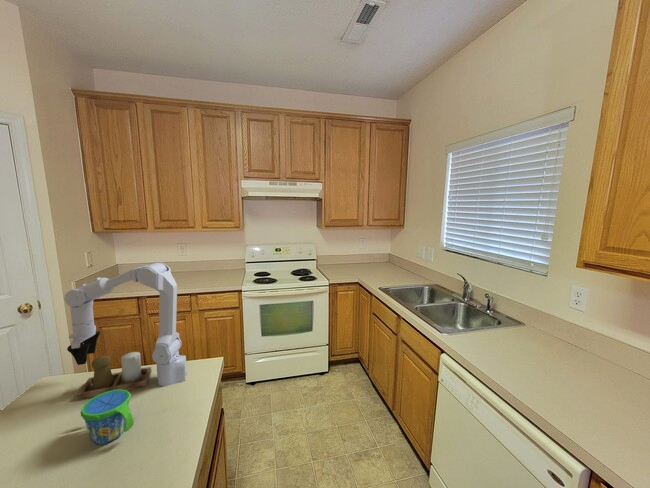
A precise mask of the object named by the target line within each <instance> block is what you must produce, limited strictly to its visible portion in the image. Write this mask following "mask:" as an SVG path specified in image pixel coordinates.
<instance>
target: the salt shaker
mask: <svg viewBox="0 0 650 488" xmlns="http://www.w3.org/2000/svg"><path fill="white" fill-rule="evenodd" d="M141 358H142V357H141V352H139V351H131V352H128V353H125V354H123V355H122V356H121V357H120V362H121V363H120V364H121V372H122V377H123V384H128V383H133V382H138V381H142V372H141V368H142V362H141V361H142V360H141Z"/></svg>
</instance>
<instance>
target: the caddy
mask: <svg viewBox="0 0 650 488" xmlns="http://www.w3.org/2000/svg"><path fill="white" fill-rule="evenodd" d="M141 372H142V381H138V382H133V383H128V384H123V377H122V371H121V372H114V373H112V376H113V380H114V383H113V385H112V387H107V388H102V389H97V390H93V379H94V376H92V377H88V379H87V380H86V382H85V383H84V384H83V386H82V387H80V389H79V391H78V392H77V394H76V402H79V401H83V400H84V401H85V400H88V399H89V400H90V399H92V398H94V397H95V396H97V395H99V394H102V393H104V392H108V391H111V390H118V389H122V390H127V391H128V392H129V391H134V390H137V389H142V388H147V385H148V382H149V379H150V377H151V374H152V366H148V367H141Z"/></svg>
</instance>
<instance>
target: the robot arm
mask: <svg viewBox="0 0 650 488" xmlns="http://www.w3.org/2000/svg"><path fill="white" fill-rule="evenodd" d="M131 281H133V282H134V283H140V284H141V285H144V286H146V287H149V288H150V289H151V288H152V289H153V290H156V291H157V292H158V293H159V302H158V303H159V309H158V310H159V311H158V313H159V315H158V317H159V319H158V335H157V336H158V337H157V340H156V341H155V346H154V347H155V348H154V350H153V351H152V354H151V356H152V360H153V361H154V363H156V372H157V373H156V374H157V385H158V386H160V387H167V386H171V385H172V386H173V385H174V384H178V383H182V382H186V380H187V376H188V369H187V357H186V356H187V355H180V352H179V351H180V349H181V348H182V340H181V338H180V333H179V332H177V311H178V310H177V307H178V284H177V282H176V280H175V278H174V276H173V273H172V270H171V267H170V266H168V265H167V264H165V262H162V261H156V262H153V263H152V264H151V263H150V264H146V265H142V266H138V267H137V266H136V267H135V268H132V269H129V270H127V271H125V272H122V273H120V274H118V275H115V276H114V277H111V278H108V277H96V278H94V279H93V281H91V282H90V283H83V284H81V285H80V286H79V287H77V288H74V289H70V290H69V291H67V292H66V293H65V295H64V296H63V297H64V302H65V304H66V305H67V306H69V308H70V318H71V328H72V333H71V334H69V335H68V339H72V340H71V343H70V345H68V346H67V348H66V349H67V351H68V352H69V353H70V354H71V355H72V357H73V359H74V360H75V363H76V364H77V366H82V365H86V364H87V360H88V355H91V354H95V352H96V348H97V343H98V339H99V337H100V335H101V330H100V331H99V330H98V331H97V326H96V324H95V320H94V319H95V316H94V308H93V305H94V300H96V299H98V298H101V297H104V296H105V295H108V294H110V293H112V292H113V291H114V289H115V287H119V286H121V285H123V284H126V283H127V282H128V283H129V282H131Z"/></svg>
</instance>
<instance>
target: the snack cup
mask: <svg viewBox="0 0 650 488" xmlns="http://www.w3.org/2000/svg"><path fill="white" fill-rule="evenodd" d="M131 397H132V394H131V393H130V392H129V391H127V390H122V389H118V390H111V391H108V392H104V393H102V394H99V395H97V396H95V397H94V398H90V399H89V400H87V402H85V403H84V404H83V406H82V408H81V411H80V417H81V418H82V419H83V420H84V422H85V426H86V428H87V431H88V434H89V438H90V440H91V443H93V444H95V445H102V446H103V445H105V444H107V443H110V442H113V441H115V440H116V439H119V438H120V436H121V435H122V434H123V433H124V432H129V430H130V429H132V427H134V424H135V420H134V417H133V415H132V412H131V409H130V407H129V406H130V405H129V403H130V401H131Z"/></svg>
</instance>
